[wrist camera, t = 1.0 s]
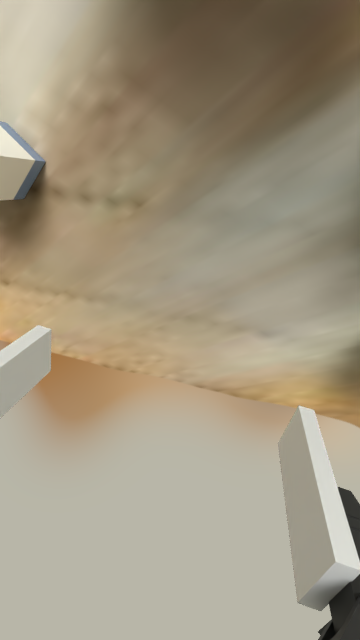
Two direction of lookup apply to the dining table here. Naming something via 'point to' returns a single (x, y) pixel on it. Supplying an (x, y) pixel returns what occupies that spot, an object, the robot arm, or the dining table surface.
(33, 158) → the white sleeve
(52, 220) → the dining table surface
